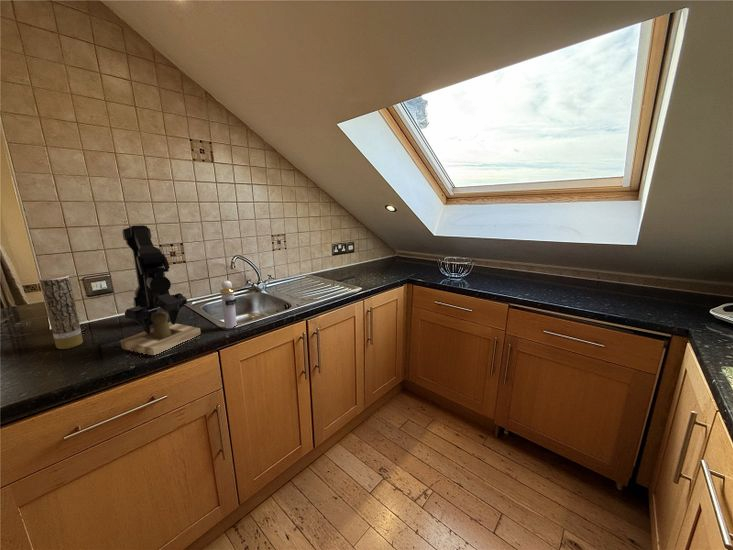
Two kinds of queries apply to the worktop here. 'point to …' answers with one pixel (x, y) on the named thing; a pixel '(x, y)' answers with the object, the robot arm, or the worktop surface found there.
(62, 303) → the grey bark cylinder
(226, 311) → the perfume bottle
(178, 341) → the socket board
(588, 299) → the worktop surface
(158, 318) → the cork
